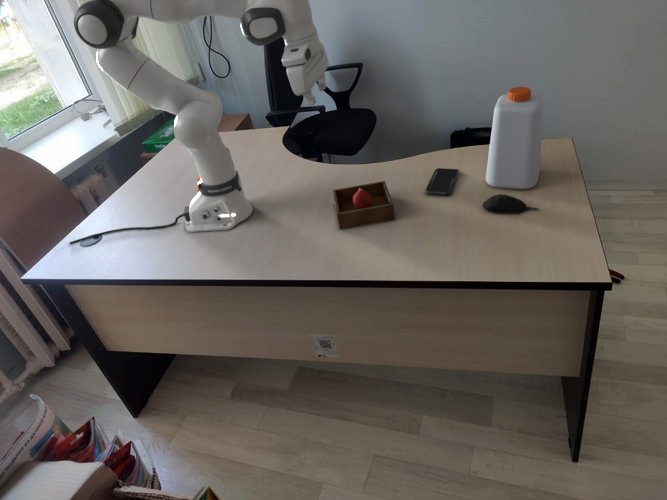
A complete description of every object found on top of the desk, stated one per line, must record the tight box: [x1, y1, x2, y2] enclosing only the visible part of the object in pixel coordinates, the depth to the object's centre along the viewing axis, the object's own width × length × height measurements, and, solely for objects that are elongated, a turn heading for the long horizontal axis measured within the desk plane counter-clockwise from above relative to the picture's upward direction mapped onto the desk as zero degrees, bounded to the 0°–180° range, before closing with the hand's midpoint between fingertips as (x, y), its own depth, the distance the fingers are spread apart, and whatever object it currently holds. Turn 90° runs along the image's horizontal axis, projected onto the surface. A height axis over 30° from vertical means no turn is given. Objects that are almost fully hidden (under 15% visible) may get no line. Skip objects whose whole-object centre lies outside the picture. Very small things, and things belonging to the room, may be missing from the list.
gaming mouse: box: [482, 193, 538, 214], centre depth 136 cm, size 6×15×4 cm, turn 71°
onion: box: [353, 188, 372, 209], centre depth 145 cm, size 6×6×8 cm
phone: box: [425, 167, 460, 197], centre depth 153 cm, size 8×1×15 cm
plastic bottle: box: [485, 86, 544, 190], centre depth 141 cm, size 15×15×28 cm
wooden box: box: [332, 180, 396, 230], centre depth 146 cm, size 17×15×5 cm
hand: (317, 96), depth 133 cm, fingers open, 8 cm apart
